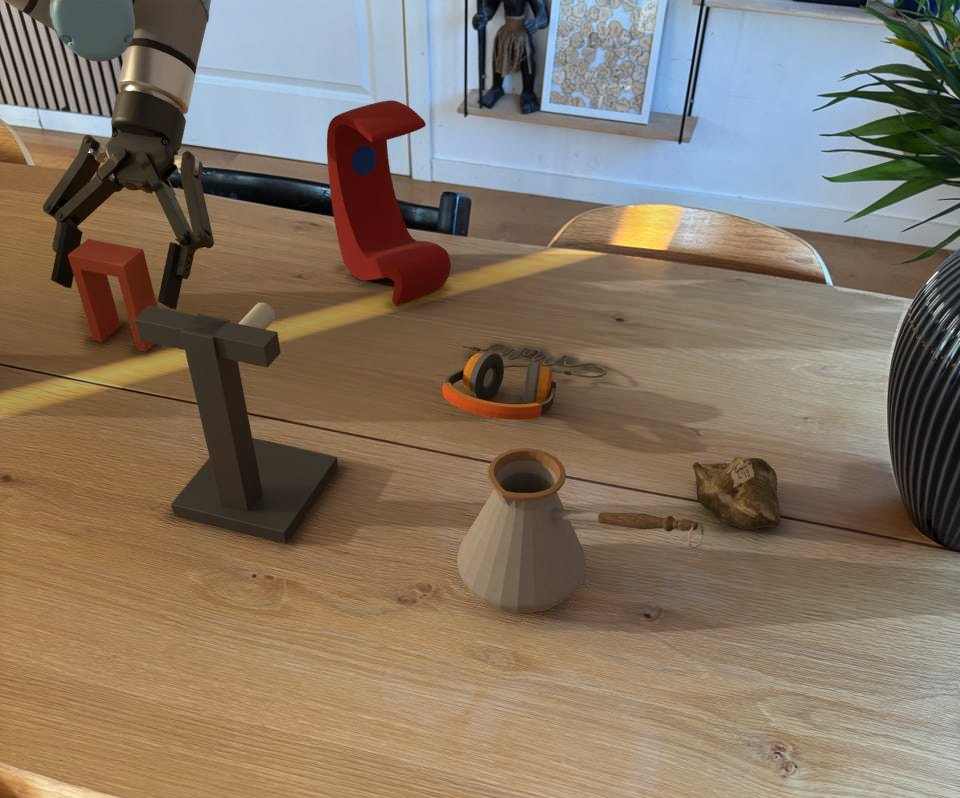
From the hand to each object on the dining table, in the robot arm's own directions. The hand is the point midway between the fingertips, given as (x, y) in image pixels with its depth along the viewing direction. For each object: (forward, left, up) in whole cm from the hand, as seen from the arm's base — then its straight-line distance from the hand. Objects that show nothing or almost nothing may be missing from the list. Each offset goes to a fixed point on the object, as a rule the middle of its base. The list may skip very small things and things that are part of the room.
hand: (113, 295), depth 114 cm
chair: (+24, +24, -6) cm, 34 cm away
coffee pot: (+60, -24, -6) cm, 65 cm away
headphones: (+46, +5, -6) cm, 47 cm away
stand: (+27, -19, -6) cm, 34 cm away
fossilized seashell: (+72, -6, -6) cm, 72 cm away
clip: (0, +1, -6) cm, 6 cm away
